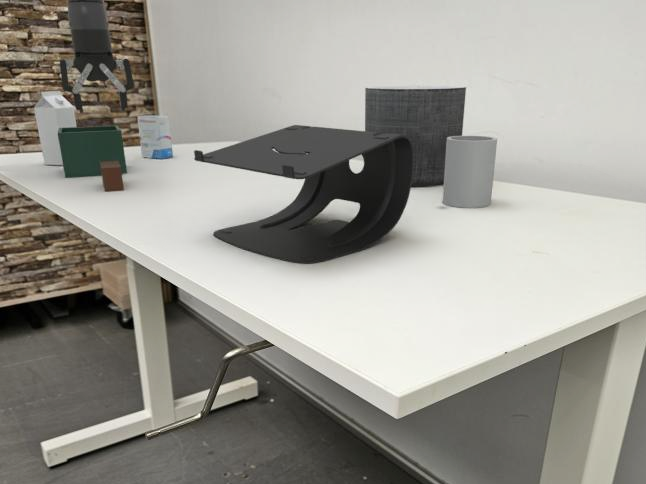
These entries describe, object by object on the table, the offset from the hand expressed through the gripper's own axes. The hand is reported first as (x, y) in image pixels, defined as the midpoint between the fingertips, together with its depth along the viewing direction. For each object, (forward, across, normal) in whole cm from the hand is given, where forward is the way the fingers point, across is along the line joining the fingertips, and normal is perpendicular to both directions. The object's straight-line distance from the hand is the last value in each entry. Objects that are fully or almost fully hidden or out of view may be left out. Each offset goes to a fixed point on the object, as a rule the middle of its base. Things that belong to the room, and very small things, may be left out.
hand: (102, 111), depth 130 cm
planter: (+16, -66, +18) cm, 70 cm away
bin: (+16, +3, -25) cm, 30 cm away
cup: (+16, -63, +46) cm, 80 cm away
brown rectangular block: (+16, 0, 0) cm, 16 cm away
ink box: (+16, -15, -45) cm, 50 cm away
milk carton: (+16, +11, -43) cm, 47 cm away
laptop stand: (+16, -26, +57) cm, 65 cm away
